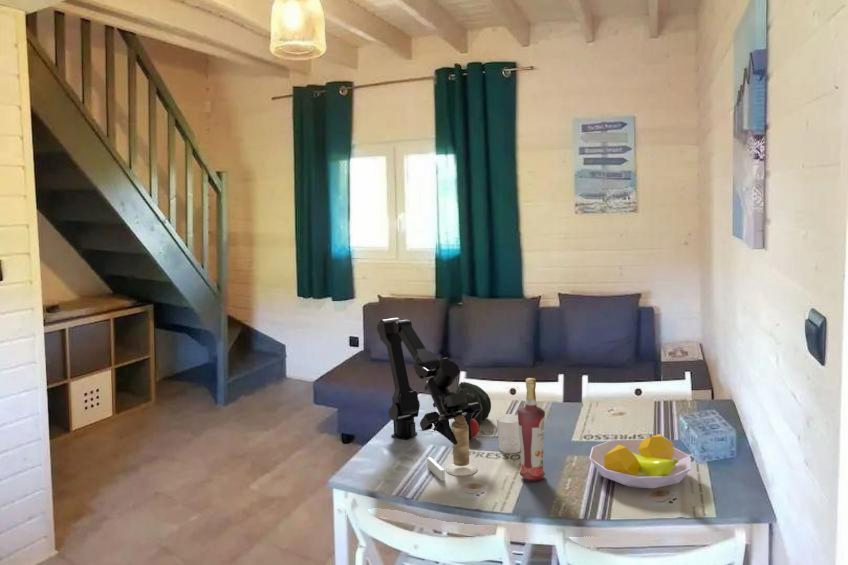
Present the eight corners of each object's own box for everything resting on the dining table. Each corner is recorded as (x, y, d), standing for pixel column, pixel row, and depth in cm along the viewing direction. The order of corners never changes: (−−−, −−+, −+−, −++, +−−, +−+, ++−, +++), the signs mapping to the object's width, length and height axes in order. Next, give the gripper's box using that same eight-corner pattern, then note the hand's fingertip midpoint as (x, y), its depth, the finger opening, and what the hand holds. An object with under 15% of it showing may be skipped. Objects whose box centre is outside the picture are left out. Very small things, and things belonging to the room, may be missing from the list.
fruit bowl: (579, 459, 191) (579, 422, 190) (673, 457, 190) (673, 420, 189) (602, 504, 163) (602, 461, 162) (712, 502, 162) (713, 458, 161)
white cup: (525, 446, 203) (524, 415, 202) (520, 455, 196) (520, 423, 194) (500, 443, 206) (499, 413, 204) (494, 453, 198) (494, 421, 197)
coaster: (440, 472, 186) (440, 470, 186) (455, 461, 193) (455, 459, 193) (468, 478, 181) (468, 477, 181) (482, 466, 188) (482, 465, 188)
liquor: (539, 485, 175) (538, 384, 171) (514, 480, 179) (512, 381, 175) (549, 475, 181) (548, 377, 177) (525, 470, 185) (523, 374, 181)
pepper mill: (452, 465, 185) (451, 418, 183) (454, 459, 190) (453, 412, 188) (468, 466, 184) (467, 418, 182) (470, 459, 189) (469, 413, 187)
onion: (478, 442, 207) (477, 418, 206) (460, 442, 208) (459, 418, 207) (480, 436, 213) (479, 412, 212) (462, 435, 214) (462, 412, 213)
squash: (505, 404, 227) (478, 370, 231) (485, 418, 215) (457, 382, 219) (479, 425, 235) (453, 391, 238) (459, 440, 222) (432, 404, 226)
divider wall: (427, 467, 189) (427, 457, 189) (431, 467, 190) (430, 457, 189) (441, 480, 180) (441, 470, 180) (444, 480, 180) (444, 469, 180)
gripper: (423, 386, 183) (446, 436, 175) (478, 375, 192) (501, 421, 184) (410, 406, 190) (431, 454, 182) (463, 394, 200) (485, 440, 192)
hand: (463, 442), depth 185 cm, fingers closed on pepper mill, 5 cm apart
